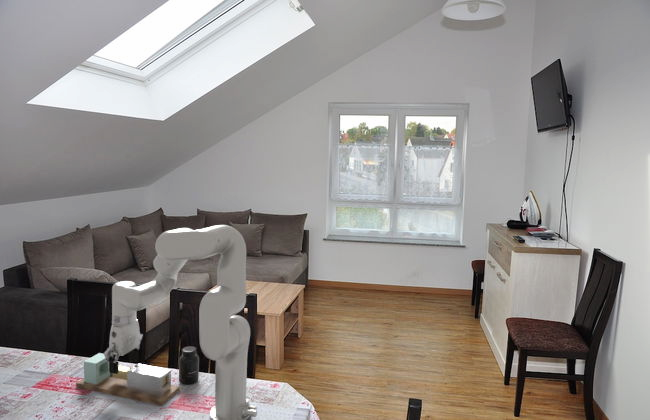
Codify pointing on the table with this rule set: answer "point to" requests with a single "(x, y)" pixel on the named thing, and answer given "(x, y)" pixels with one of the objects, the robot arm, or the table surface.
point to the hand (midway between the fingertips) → (124, 366)
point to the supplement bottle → (188, 366)
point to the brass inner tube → (123, 374)
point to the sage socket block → (96, 369)
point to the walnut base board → (120, 389)
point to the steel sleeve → (148, 379)
